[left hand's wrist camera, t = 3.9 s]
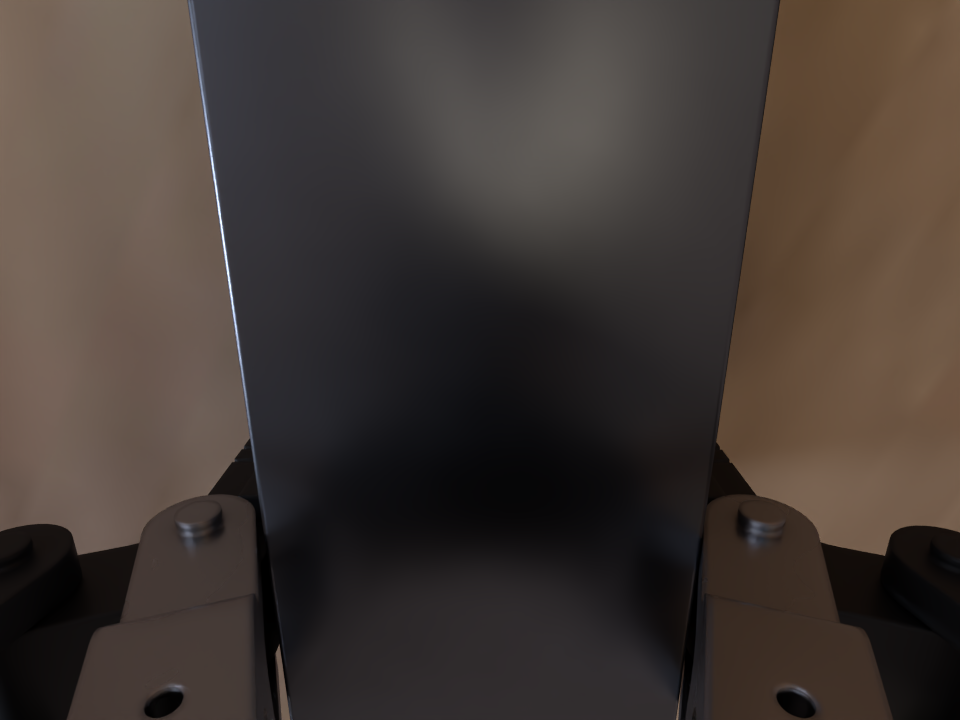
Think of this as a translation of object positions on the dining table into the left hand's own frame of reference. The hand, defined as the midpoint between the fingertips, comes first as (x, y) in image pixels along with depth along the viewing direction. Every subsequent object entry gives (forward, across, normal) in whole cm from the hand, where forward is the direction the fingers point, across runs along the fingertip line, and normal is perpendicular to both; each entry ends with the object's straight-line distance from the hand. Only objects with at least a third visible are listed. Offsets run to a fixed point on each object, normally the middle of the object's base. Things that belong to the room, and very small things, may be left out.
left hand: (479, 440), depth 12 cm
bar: (+4, 0, -9) cm, 10 cm away
